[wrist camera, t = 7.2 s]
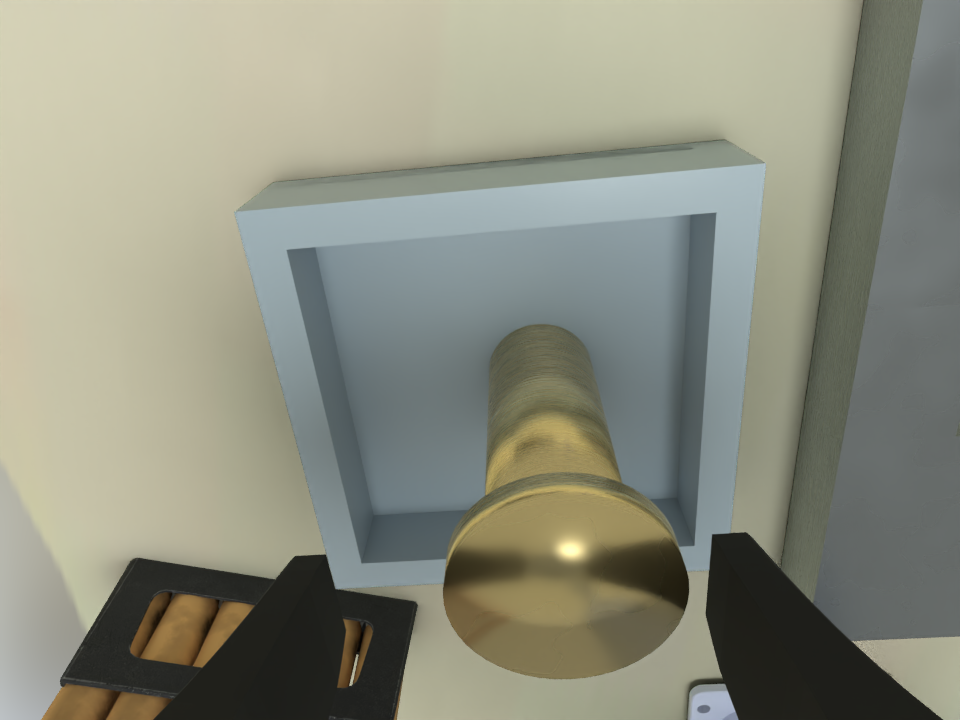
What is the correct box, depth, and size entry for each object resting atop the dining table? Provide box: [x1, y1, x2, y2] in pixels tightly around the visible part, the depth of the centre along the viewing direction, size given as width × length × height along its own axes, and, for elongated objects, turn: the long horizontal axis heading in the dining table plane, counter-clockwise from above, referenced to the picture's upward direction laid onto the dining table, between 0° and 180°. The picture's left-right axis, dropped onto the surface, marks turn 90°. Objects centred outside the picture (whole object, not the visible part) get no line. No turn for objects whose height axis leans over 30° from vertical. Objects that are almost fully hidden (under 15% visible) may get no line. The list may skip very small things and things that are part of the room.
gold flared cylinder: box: [443, 324, 689, 679], centre depth 16 cm, size 4×4×9 cm
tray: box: [234, 140, 766, 589], centre depth 19 cm, size 12×12×3 cm
